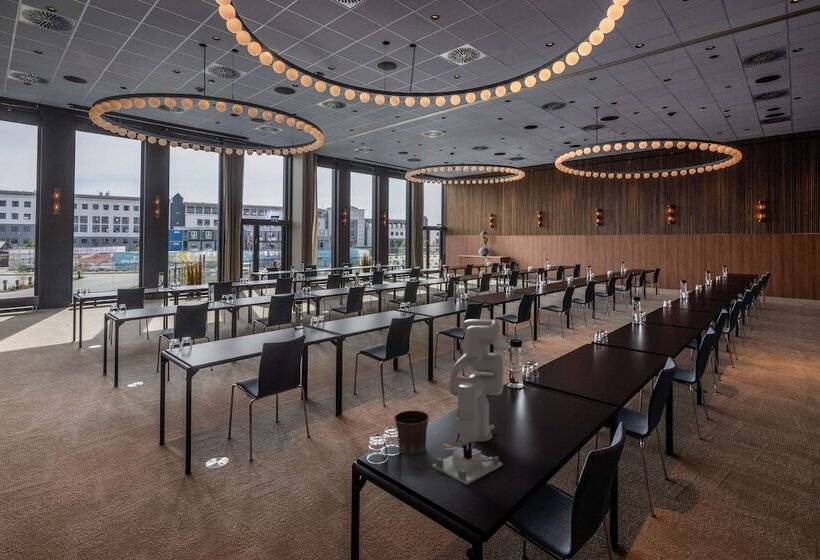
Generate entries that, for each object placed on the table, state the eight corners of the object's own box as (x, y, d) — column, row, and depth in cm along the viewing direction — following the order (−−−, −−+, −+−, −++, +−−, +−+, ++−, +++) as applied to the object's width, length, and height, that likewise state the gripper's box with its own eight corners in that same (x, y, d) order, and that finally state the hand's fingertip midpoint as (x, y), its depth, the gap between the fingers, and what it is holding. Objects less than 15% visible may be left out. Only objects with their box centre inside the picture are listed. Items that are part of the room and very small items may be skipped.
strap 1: (467, 449, 207) (468, 445, 207) (472, 451, 204) (473, 447, 205) (440, 447, 195) (441, 443, 195) (445, 450, 193) (446, 446, 193)
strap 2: (489, 458, 197) (490, 454, 197) (495, 461, 195) (496, 457, 195) (462, 461, 185) (462, 457, 185) (467, 464, 183) (468, 459, 183)
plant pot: (418, 461, 200) (417, 426, 199) (388, 453, 209) (387, 419, 207) (435, 447, 214) (435, 414, 213) (406, 440, 222) (406, 408, 221)
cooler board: (467, 450, 210) (467, 436, 209) (502, 465, 195) (502, 450, 194) (432, 466, 195) (431, 452, 194) (466, 484, 180) (466, 469, 179)
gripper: (472, 407, 191) (472, 449, 192) (447, 416, 181) (448, 460, 182) (486, 412, 185) (486, 455, 186) (461, 421, 176) (462, 467, 177)
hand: (467, 457), depth 184 cm, fingers closed
